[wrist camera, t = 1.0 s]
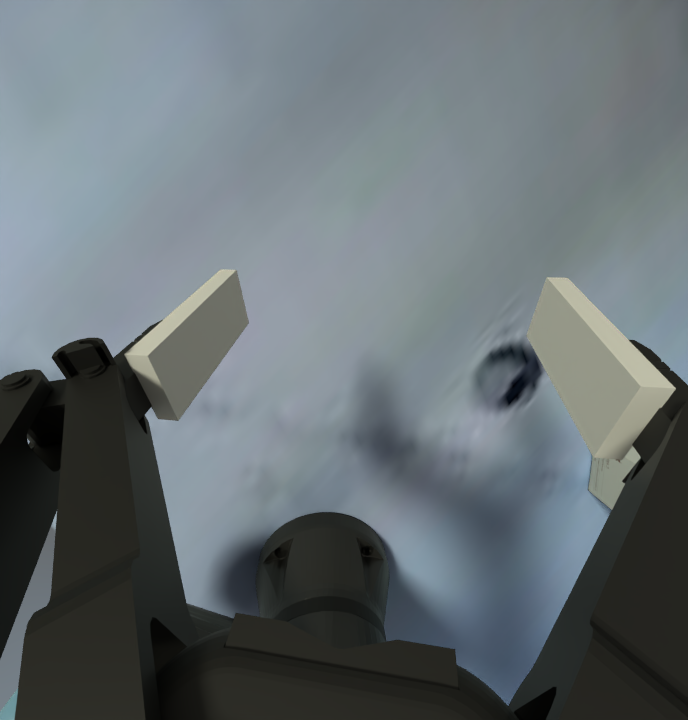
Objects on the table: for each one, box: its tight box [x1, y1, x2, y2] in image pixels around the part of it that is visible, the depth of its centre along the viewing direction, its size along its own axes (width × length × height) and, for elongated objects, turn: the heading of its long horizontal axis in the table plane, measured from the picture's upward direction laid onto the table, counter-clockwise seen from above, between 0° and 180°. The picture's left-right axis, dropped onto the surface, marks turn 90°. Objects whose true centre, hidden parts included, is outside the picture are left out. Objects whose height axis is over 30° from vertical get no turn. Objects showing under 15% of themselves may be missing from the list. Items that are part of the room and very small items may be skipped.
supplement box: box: [588, 446, 641, 510], centre depth 33 cm, size 7×7×13 cm
